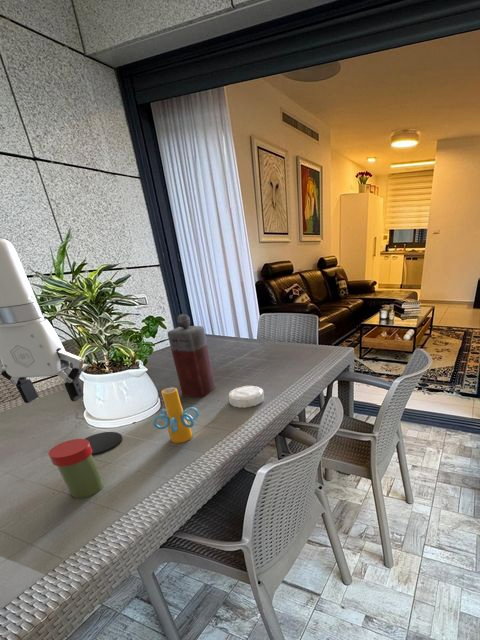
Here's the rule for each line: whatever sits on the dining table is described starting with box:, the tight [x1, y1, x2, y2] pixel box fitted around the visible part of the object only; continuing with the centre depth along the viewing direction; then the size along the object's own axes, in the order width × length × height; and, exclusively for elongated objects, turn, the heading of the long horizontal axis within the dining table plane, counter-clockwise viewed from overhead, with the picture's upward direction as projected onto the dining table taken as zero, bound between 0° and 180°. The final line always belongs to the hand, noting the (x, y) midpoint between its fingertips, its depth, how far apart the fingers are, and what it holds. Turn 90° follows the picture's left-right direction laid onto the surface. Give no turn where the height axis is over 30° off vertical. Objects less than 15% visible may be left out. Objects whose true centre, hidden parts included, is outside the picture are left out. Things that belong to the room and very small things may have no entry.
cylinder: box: [152, 387, 200, 444], centre depth 98 cm, size 12×10×15 cm
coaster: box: [84, 431, 123, 456], centre depth 100 cm, size 12×12×1 cm
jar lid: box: [47, 438, 92, 467], centre depth 78 cm, size 8×8×2 cm
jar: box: [56, 454, 105, 499], centre depth 80 cm, size 7×7×11 cm
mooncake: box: [227, 385, 265, 409], centre depth 122 cm, size 12×12×4 cm
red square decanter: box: [167, 314, 217, 398], centre depth 125 cm, size 9×11×28 cm
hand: (55, 399), depth 73 cm, fingers open, 9 cm apart
